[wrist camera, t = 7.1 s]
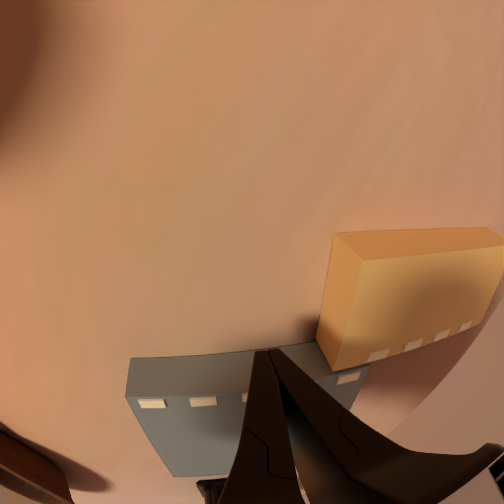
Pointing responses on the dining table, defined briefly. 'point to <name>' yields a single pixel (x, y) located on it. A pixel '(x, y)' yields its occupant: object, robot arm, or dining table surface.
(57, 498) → the dish
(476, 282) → the stub
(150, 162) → the dining table surface
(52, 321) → the dining table surface
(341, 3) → the dining table surface
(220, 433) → the grey flat block
